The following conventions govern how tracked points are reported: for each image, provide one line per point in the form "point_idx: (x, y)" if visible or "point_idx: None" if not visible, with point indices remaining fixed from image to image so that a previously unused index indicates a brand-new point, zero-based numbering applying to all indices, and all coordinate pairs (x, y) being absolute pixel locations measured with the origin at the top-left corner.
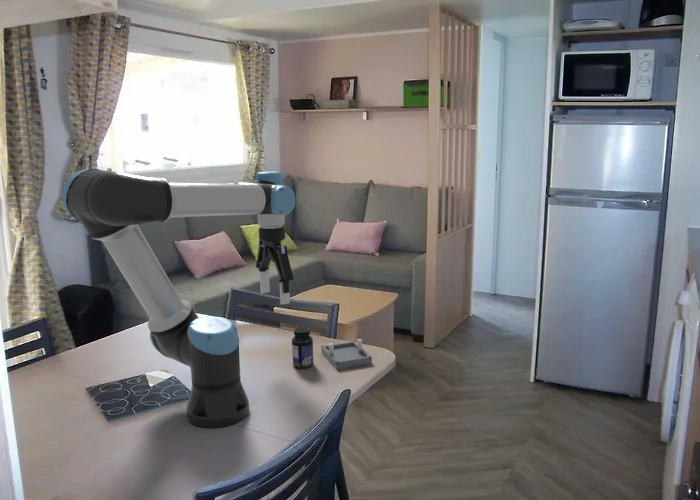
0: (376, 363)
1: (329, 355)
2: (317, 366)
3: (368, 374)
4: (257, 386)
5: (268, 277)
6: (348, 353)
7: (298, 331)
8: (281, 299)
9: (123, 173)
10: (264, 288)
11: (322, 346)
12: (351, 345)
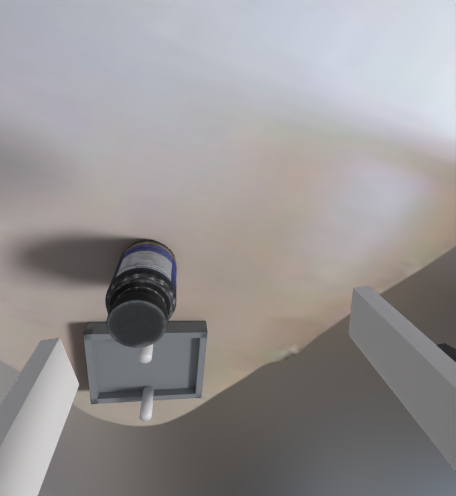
0: None
1: None
2: None
3: None
4: (38, 98)
5: (416, 415)
6: (152, 368)
7: (123, 311)
8: (24, 370)
9: None
10: (369, 324)
11: (204, 334)
12: (195, 385)
